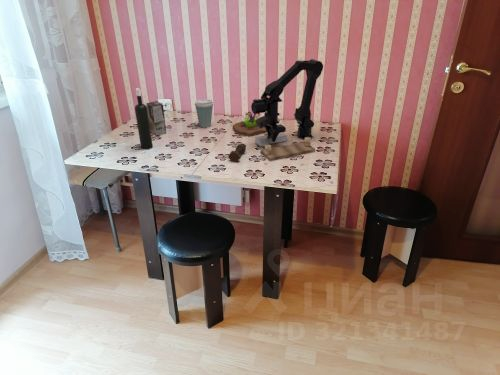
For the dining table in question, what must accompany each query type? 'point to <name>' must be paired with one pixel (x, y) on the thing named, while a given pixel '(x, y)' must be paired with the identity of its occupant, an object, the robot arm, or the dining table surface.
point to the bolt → (237, 153)
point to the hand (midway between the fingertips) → (271, 140)
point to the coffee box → (156, 118)
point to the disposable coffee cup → (204, 112)
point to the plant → (248, 126)
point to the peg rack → (287, 150)
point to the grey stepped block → (270, 139)
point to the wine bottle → (143, 123)
